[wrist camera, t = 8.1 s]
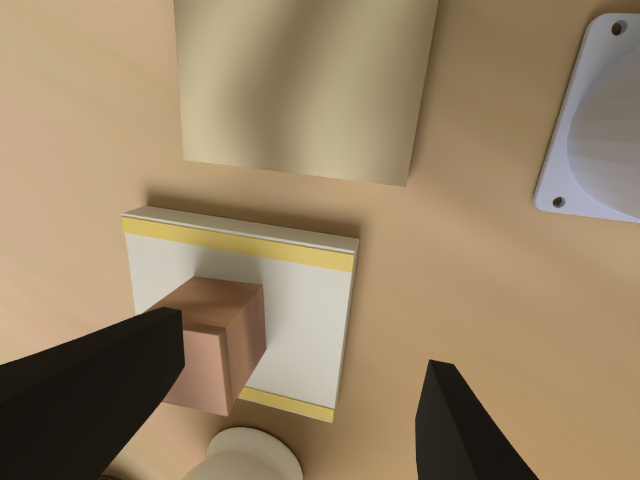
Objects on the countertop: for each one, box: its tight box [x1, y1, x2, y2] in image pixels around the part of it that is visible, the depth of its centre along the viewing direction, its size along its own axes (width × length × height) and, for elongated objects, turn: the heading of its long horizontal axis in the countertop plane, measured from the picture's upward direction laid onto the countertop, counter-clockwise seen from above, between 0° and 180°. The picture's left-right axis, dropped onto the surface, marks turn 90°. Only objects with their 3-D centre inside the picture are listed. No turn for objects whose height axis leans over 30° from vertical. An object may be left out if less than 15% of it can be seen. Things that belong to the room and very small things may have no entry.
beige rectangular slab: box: [174, 0, 439, 187], centre depth 16 cm, size 12×9×2 cm
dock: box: [122, 206, 359, 423], centre depth 21 cm, size 14×12×2 cm
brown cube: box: [136, 276, 266, 416], centre depth 18 cm, size 5×5×5 cm
